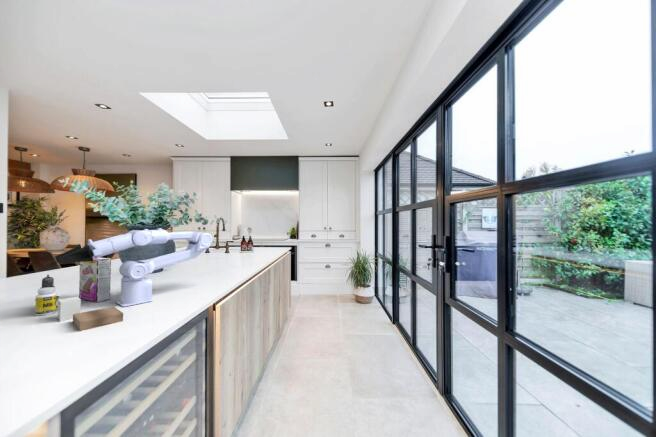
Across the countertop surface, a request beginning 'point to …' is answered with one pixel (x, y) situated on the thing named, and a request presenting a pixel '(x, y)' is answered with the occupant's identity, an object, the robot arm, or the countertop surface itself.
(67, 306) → the white small block
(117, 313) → the walnut block
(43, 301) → the supplement bottle
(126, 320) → the countertop surface
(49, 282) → the salt shaker
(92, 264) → the candy bar box
